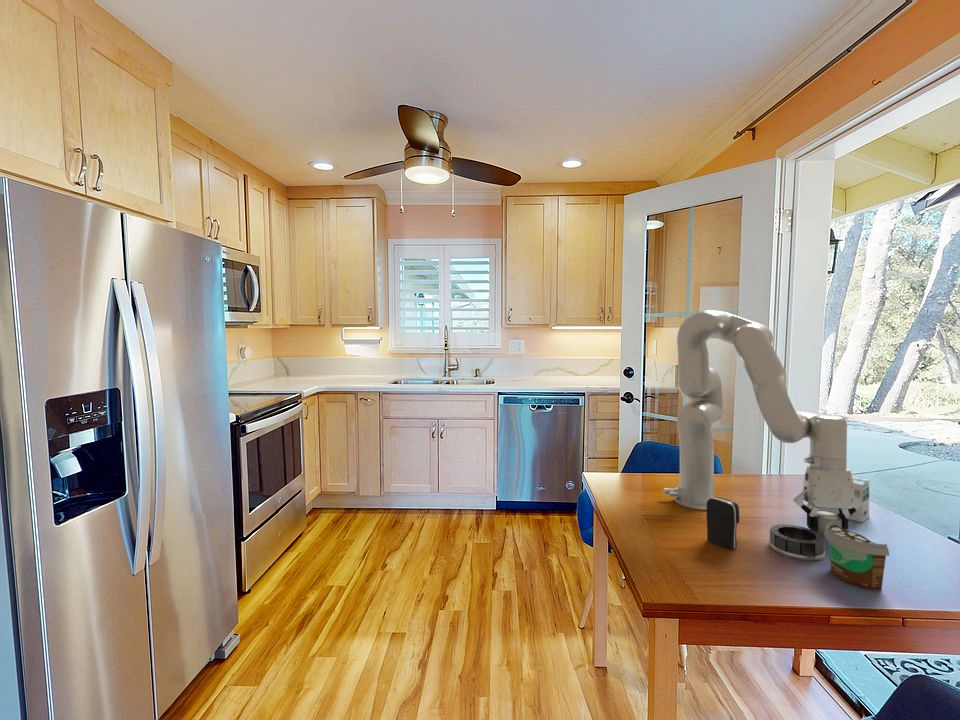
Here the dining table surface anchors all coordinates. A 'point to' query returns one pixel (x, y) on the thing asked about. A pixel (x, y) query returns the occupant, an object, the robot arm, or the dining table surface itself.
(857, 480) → the light bulb box
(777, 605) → the dining table surface
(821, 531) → the cap
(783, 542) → the faceted grey bowl
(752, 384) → the robot arm
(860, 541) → the food container
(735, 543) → the battery charger
